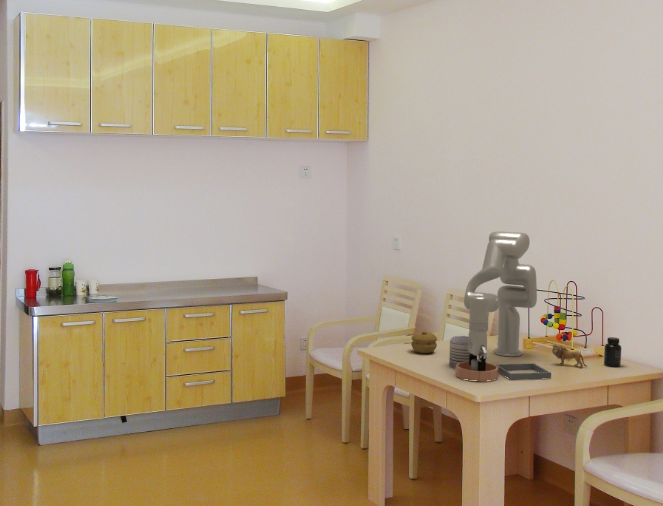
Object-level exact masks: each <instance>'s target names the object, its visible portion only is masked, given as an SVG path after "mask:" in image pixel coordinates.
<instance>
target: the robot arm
mask: <svg viewBox="0 0 663 506" xmlns="http://www.w3.org/2000/svg"><path fill="white" fill-rule="evenodd" d="M488 241H489V242H488V243H487V246H486V250H485V254H484V259H483V264H482V268H481V269H480V270H479V271H478V272H477V273H475V274H474V275H473V276H472V277H471V279H470V280H469V281H468V283H467V285H466V289H465V293H464V297H463V304H464V305H463V306H464V307H465V308H466V310H469V320H468V321H469V323H468V326H469V327H468V336H467V337H468V351H469V355H470V356H469V365H471V360H472V359H479V361H478V371H486V363H487V358H488V357H487V356H488V334H487V332H488V331H489V313H493V312H496V311H497V310H498V324H497V326H498V327H497V343H496V344H497V348H495V349H493V354H494V355H496V356H497V355H498V356H502V357H520V356H522V355H523V352H522V351H521V350H519V349H520V325H521V324H520V322H521V316H520V313H519V311H518V310H517V308H525V309H533V308H534V307H535V306H536V304H537V302H538V292H537V291H538V289H537V288H538V287H537V272H536V269H535V267H534V266H533V265H532V264H531V265H530V264H525V263H524V264H522V263H520V262H519V259H521V258H522V257H523V256H524V255H525V254H526V253H527V251H528V249H529V247H530V243H531V242H530V237H529V235H528V234H527V233H526V232H525V233H524V232H512V231H511V232H510V231H493V232H491V233H490V234H489V236H488ZM498 278H500V282H501V283H502V284H503V285H502V286H500V287H499V288H498V290H497V294H494V293H490V292H488V293H486V292H478V291H477V292H476V290H477V289H478V287H480V286H481V285H482V284H485V283H488V282H491V281H493V280H495V279H496V280H497V279H498ZM504 284H505V285H504Z"/></svg>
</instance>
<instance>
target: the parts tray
mask: <svg viewBox="0 0 663 506" xmlns="http://www.w3.org/2000/svg"><path fill="white" fill-rule="evenodd" d="M494 365H496V366H498V367H499V374H500V373H501V374H503V375H504V376H506V377H508V378H509V379H529V380H543V379H542V378H551V379H552V372H551V371H549V370H547V369H545V368H544V367H542V366H540V365H538V364H537V363H535V362H534V363H532V362H531V363H528V362H527V363H501V364H500V363H498V364H494ZM519 369H523V370H522V371H526V370H525V369H533V370H532V371H535V372H520V373H519V372H517V373H515V372H514V373H512V372H510V371H520V370H519ZM536 371H537V372H536ZM538 372H539V373H538ZM501 374H500V375H501ZM503 375H502V376H503ZM504 376H503V377H504ZM506 377H505V378H506ZM509 379H508V380H509Z"/></svg>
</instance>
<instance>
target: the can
mask: <svg viewBox="0 0 663 506" xmlns="http://www.w3.org/2000/svg"><path fill="white" fill-rule="evenodd" d="M468 337H469V336H465V335H459V336H458V335H456V336H453V337H450V338H449V359H448V360H449V361H448V363H449V366H450V368H453V369H456V365H457V364H458V363H461V362H468V361H469V356H470V355H469V351H468Z"/></svg>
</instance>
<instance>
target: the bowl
mask: <svg viewBox="0 0 663 506" xmlns="http://www.w3.org/2000/svg"><path fill="white" fill-rule="evenodd" d="M499 375H500V373H499V367H498V366H496V365H495V364H494V363H491V362H486V371H472V370H471V365H469V361H468V362H461V363H458V364H457V365H456V368H455V377H456V378H458V377H459V378H458V379H460V378H462V379H461V380H463V379H468V380H477V381H487V380H494V379H497V378H498V379H499ZM498 379H497V380H498Z"/></svg>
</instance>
